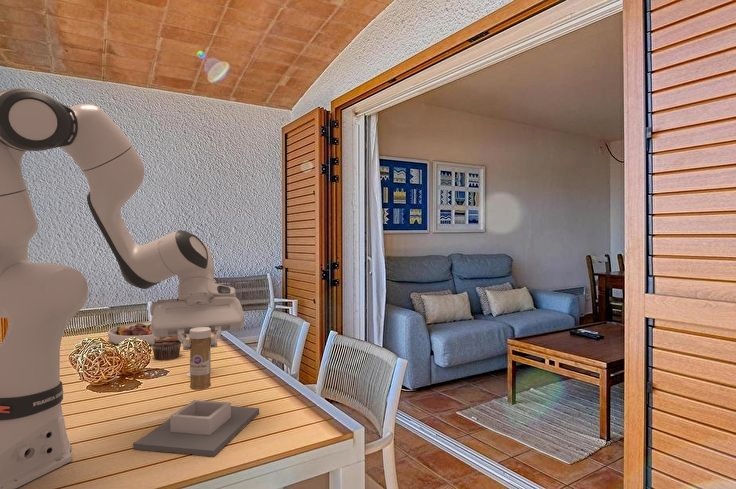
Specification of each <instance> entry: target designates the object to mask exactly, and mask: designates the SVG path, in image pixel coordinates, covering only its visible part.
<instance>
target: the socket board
mask: <svg viewBox="0 0 736 489" xmlns="http://www.w3.org/2000/svg"><path fill="white" fill-rule="evenodd" d="M258 413H259V414H260V407H248V406H237V405H235V406H233V405H232V402H229V401H228V402H227V401H214V400H213V401H211V400H199V399H193V400H192V401H190V402H189V403H188V404H186V405H184V406H183V407H181V408H180V409H178V410H177V411H175V412H174V413H172V414H171V415H170V418H169V419H167V420H166V421H164V422H163V423H161V424H160V425H159V426H157V427H156V428H154V429H153V430H151V431H150V432H148V433H147V434H145V435H144V436H142V437H140V438H139V439H138V440H136V441H135V442H134V443H133V446H132V447H133V448H132V449H133V450H137V451H148V452H157V451H162V452H161V453H168V452H175V453H174V454H179V453H185V454H184V455H190V454H192V455H191V456H193V455H194V456H201V455H202V456H203V457H212V456H213V458H214V457H215V456H217V454H218V453H219V452H220V451H222V449H223V448H225V447H226V445H228V444H229V443H230V442H231V441H232V440H233V439H234V438H235V437H236V436H237V435H238V434H239V433H240V432H241V431H242V430H243V429H244V428H245V427H246V426H247V425H248V424H249V423H250V422H252V420H253V419H255V418H256V417H257V416H258V415H259V414H258ZM257 414H258V415H257ZM256 415H257V416H256ZM244 426H245V427H244ZM243 427H244V428H243ZM242 428H243V429H242ZM241 429H242V430H241ZM240 430H241V431H240ZM239 431H240V432H239ZM238 432H239V433H238ZM237 433H238V434H237ZM236 434H237V435H236ZM235 435H236V436H235ZM234 436H235V437H234ZM233 437H234V438H233ZM232 438H233V439H232ZM231 439H232V440H231ZM230 440H231V441H230ZM229 441H230V442H229Z"/></svg>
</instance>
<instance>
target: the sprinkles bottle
mask: <svg viewBox="0 0 736 489" xmlns="http://www.w3.org/2000/svg"><path fill="white" fill-rule="evenodd" d="M211 336H212V332H211V328H209V327H196V328H192V329H190V334H189V337H190V339H189V340H190V350H189V351H190V353H189V356H190V358H189V372H190V376H189V378H190V379H189V380H190V382H189V383H190V385H189V388H190V389H191V390H194V391H203V390H206V389H209V388H210V387H211V386H212V383H211V370H212V369H211V368H212V367H211V348H210V338H211Z"/></svg>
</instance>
